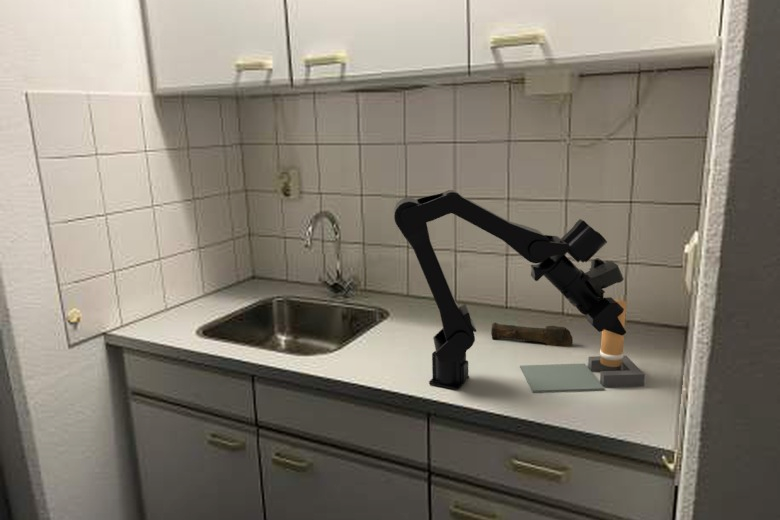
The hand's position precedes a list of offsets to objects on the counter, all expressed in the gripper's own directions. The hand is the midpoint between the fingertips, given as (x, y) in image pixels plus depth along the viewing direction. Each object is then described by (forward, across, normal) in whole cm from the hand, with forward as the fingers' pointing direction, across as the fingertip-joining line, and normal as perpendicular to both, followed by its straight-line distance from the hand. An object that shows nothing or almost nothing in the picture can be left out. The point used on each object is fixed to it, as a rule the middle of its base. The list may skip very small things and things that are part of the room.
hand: (619, 329), depth 120 cm
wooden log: (-1, +21, +17) cm, 27 cm away
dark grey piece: (+6, 0, +8) cm, 10 cm away
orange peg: (+4, 0, +6) cm, 7 cm away
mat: (-1, 0, +16) cm, 16 cm away
